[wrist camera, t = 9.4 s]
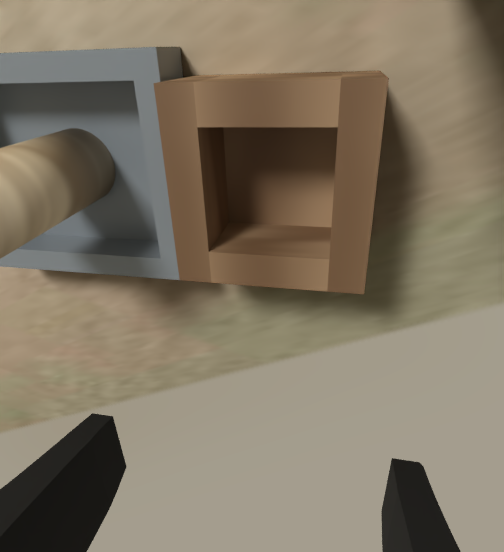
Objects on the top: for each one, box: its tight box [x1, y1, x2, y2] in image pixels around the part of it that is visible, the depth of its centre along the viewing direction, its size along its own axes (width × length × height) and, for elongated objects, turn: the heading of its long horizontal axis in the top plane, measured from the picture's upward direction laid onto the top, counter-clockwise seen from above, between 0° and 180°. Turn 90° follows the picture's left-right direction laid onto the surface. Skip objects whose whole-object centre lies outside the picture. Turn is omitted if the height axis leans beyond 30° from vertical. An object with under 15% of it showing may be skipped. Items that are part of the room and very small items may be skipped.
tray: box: [0, 47, 183, 280], centre depth 18 cm, size 10×9×2 cm
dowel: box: [0, 128, 115, 259], centre depth 16 cm, size 3×3×7 cm
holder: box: [154, 71, 389, 294], centre depth 16 cm, size 7×7×4 cm
